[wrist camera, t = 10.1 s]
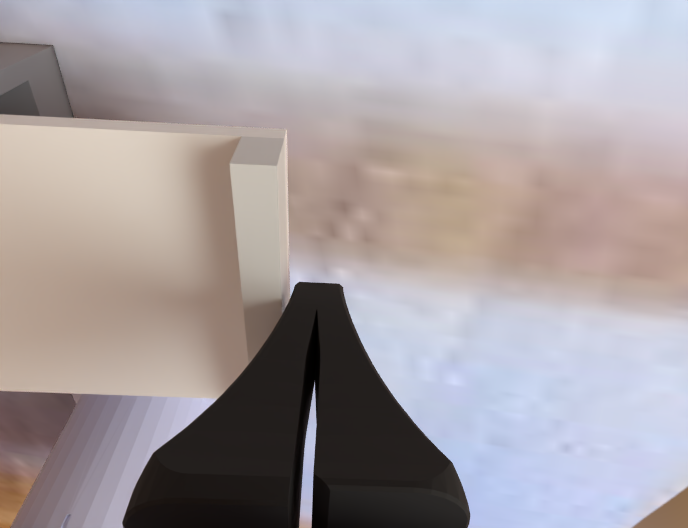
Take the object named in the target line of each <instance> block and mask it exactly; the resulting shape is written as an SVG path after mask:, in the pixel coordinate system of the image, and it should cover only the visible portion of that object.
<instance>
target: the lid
mask: <svg viewBox="0 0 688 528" xmlns="http://www.w3.org/2000/svg"><path fill="white" fill-rule="evenodd" d="M289 300H290V275H289V221H288V168H287V129H276V128H257V127H237V126H218V125H198V124H179V123H160V122H140V121H121V120H102V119H82V118H63V117H44V116H24V115H5V114H0V391H18V392H46V393H74V394H101V395H129V396H157V397H185V398H213V399H218V398H219V397H220V396H221V395H222V394H223V393H224V392H225V391H226V390H227V388H228V387H229V386H230V385H231V384H232V383H233V382H234V381H235V380H236V379H237V378H238V376H239V375H240V374H241V373H242V372H243V371H244V369H245V368H246V367H247V366H248V364H249V363H250V362H251V361H252V359H253V358H254V357H255V355H256V354H257V353H258V351H259V350H260V348H261V347H262V346H263V344H264V343H265V341H266V340H267V338H268V337H269V335H270V334H271V332H272V331H273V329H274V327H275V326H276V324H277V322H278V321H279V319H280V317H281V316H282V314H283V312H284V310H285V308H286V306H287V304H288V302H289Z"/></svg>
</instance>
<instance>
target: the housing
mask: <svg viewBox="0 0 688 528" xmlns="http://www.w3.org/2000/svg"><path fill="white" fill-rule="evenodd" d="M0 114H5V115H24V116H44V117H63V118H74V117H73V114H72V110H71V107H70V103H69V100H68V96H67V92H66V89H65V85H64V82H63V78H62V75H61V71H60V68H59V64H58V61H57V57H56V54H55V50H54V47H53V45H37V44H19V43H1V42H0Z"/></svg>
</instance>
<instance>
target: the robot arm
mask: <svg viewBox="0 0 688 528" xmlns="http://www.w3.org/2000/svg"><path fill="white" fill-rule="evenodd" d="M314 382H315V394H316V419H317V428H316V444H315V460H314V476H313V506H312V528H467V527H468V525H469V521H470V511H469V506H468V502H467V499H466V496H465V493H464V490H463V487H462V484H461V482H460V479H459V477H458V474H457V472H456V470H455V468H454V465H453V463H452V462H451V461H450V460H449V459H448V458H447V457H446V456H445V455H444V454H443V453H442V452H441V451H440V450H439V449H438V448H437V447H436V446H435V445H434V444H433V443H432V442H431V441H430V440H429V439H428V438H427V437H426V436H425V434H424V433H423V432H422V431H421V430H420V429H419V428H418V427H417V425H416V424H415V423H414V422H413V421H412V419H411V418H410V417H409V416H408V414H407V413H406V412H405V411H404V409H403V408H402V407H401V406H400V404H399V403H398V402H397V400H396V399H395V398H394V396H393V395H392V394H391V392H390V391H389V389H388V388H387V386H386V385H385V383H384V382H383V380H382V379H381V377H380V375H379V374H378V372H377V371H376V369H375V367H374V365H373V364H372V362H371V360H370V358H369V356H368V354H367V352H366V351H365V349H364V347H363V345H362V343H361V340H360V338H359V336H358V334H357V331H356V329H355V327H354V324H353V322H352V319H351V317H350V314H349V311H348V308H347V305H346V301H345V297H344V292H343V287H342V286H341V285H340V284H332V283H309V282H299V283H297V284H296V285H295V287H294V291H293V293H292V295H291V298H290V300H289V302H288V304H287V306H286V308H285V310H284V312H283V314H282V316H281V317H280V319H279V321H278V322H277V324H276V326H275V327H274V329H273V331H272V332H271V334H270V335H269V337H268V338H267V340H266V341H265V343H264V344H263V346H262V347H261V348H260V350H259V351H258V353H257V354H256V355H255V357H254V358H253V359H252V361H251V362H250V363H249V364H248V366H247V367H246V368H245V369H244V371H243V372H242V373H241V374H240V375H239V376H238V378H237V379H236V380H235V381H234V382H233V383H232V384H231V385H230V386H229V387H228V388H227V390H226V391H225V392H224V393H223V394H222V395H221V396H220V397H219V398H218V399H213V398H185V397H157V396H129V395H101V394H74V393H71V394H72V396H73V398H74V401H75V403H76V406H75V408H74V410H73V412H72V414H71V416H70V417H69V419H68V421H67V423H66V425H65V427H64V429H63V430H62V432H61V434H60V436H59V438H58V440H57V442H56V443H55V445H54V447H53V449H52V451H51V453H50V455H49V456H48V458H47V460H46V462H45V464H44V466H43V468H42V469H41V471H40V473H39V475H38V477H37V479H36V480H35V482H34V484H33V486H32V488H31V490H30V492H29V493H28V495H27V497H26V499H25V501H24V503H23V505H22V506H21V508H20V510H19V512H18V514H17V516H16V518H15V519H14V521H13V523H12V525H11V527H10V528H299V518H300V503H301V488H302V474H303V459H304V447H305V438H306V431H307V425H308V419H309V413H310V406H311V400H312V394H313V388H314Z"/></svg>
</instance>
